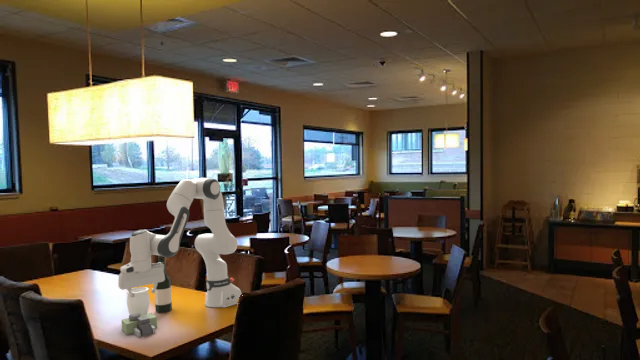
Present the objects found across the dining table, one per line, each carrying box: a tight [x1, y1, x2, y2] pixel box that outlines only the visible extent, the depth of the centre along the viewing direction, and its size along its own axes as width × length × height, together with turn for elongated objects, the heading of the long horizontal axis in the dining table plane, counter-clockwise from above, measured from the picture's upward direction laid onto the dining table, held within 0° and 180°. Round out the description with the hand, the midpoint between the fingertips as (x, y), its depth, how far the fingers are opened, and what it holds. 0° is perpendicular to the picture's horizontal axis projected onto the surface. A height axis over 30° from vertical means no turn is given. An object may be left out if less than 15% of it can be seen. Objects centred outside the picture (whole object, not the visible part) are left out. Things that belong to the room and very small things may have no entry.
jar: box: [126, 286, 150, 315], centre depth 228 cm, size 11×10×15 cm
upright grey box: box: [137, 316, 153, 337], centre depth 208 cm, size 4×7×7 cm, turn 38°
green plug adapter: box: [121, 312, 158, 338], centre depth 211 cm, size 14×15×7 cm
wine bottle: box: [154, 255, 173, 314], centre depth 240 cm, size 8×8×30 cm
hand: (143, 294), depth 207 cm, fingers open, 8 cm apart
